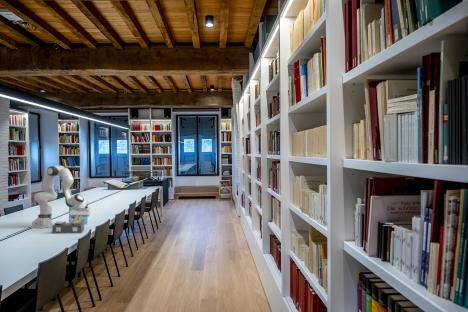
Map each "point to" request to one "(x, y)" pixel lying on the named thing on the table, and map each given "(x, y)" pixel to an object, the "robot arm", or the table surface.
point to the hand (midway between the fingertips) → (78, 219)
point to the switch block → (68, 228)
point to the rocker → (76, 222)
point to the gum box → (72, 219)
